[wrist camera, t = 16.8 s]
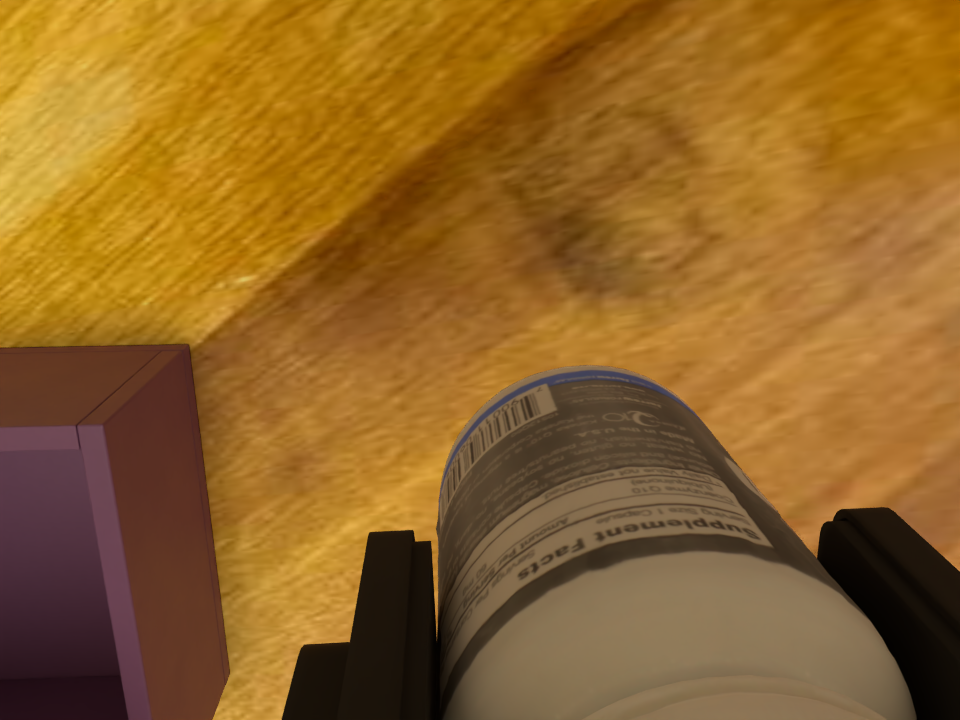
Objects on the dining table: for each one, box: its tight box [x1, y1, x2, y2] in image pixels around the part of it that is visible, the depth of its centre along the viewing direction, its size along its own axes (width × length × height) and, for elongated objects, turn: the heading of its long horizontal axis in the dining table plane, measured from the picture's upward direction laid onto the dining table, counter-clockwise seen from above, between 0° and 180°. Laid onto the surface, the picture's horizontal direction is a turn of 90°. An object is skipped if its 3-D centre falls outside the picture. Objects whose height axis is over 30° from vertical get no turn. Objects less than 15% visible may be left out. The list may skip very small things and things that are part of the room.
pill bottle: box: [436, 365, 917, 720], centre depth 9 cm, size 5×5×8 cm
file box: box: [0, 344, 230, 720], centre depth 30 cm, size 16×13×8 cm
